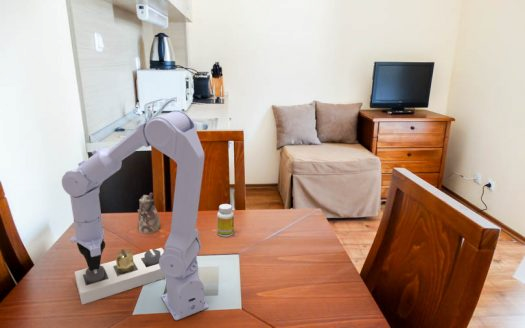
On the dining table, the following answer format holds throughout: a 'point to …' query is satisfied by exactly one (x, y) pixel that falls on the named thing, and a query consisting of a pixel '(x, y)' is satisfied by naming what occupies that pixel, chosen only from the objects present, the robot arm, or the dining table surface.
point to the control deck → (118, 279)
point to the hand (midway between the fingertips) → (94, 268)
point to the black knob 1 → (95, 275)
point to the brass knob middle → (124, 261)
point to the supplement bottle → (225, 220)
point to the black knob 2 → (152, 257)
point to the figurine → (148, 215)
